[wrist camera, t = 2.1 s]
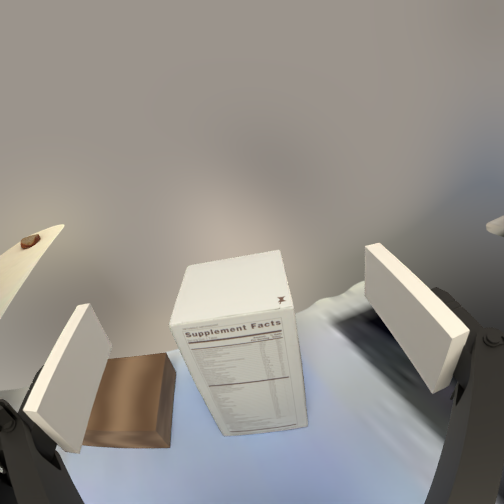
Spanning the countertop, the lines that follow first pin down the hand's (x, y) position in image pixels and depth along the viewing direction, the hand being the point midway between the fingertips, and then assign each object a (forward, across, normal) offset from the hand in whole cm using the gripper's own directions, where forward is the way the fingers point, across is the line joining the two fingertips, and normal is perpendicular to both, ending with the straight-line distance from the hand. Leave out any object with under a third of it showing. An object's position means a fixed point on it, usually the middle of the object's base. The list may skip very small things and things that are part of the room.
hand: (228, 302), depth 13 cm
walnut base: (+11, -19, -21) cm, 31 cm away
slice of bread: (+109, -104, -20) cm, 152 cm away
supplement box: (+10, 0, -22) cm, 24 cm away
